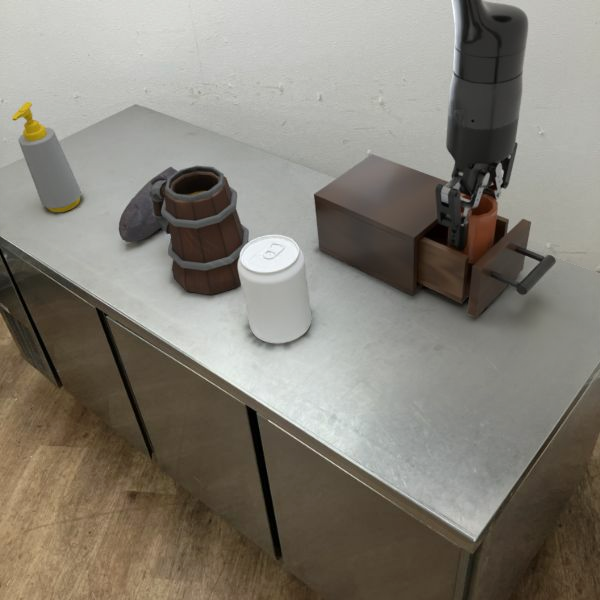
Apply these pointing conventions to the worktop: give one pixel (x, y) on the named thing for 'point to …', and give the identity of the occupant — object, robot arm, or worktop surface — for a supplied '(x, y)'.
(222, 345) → the worktop surface
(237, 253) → the mug
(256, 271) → the beverage can
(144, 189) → the perforated stone tool
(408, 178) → the cabinet
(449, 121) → the robot arm
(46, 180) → the soap bottle
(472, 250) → the cup
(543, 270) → the drawer
